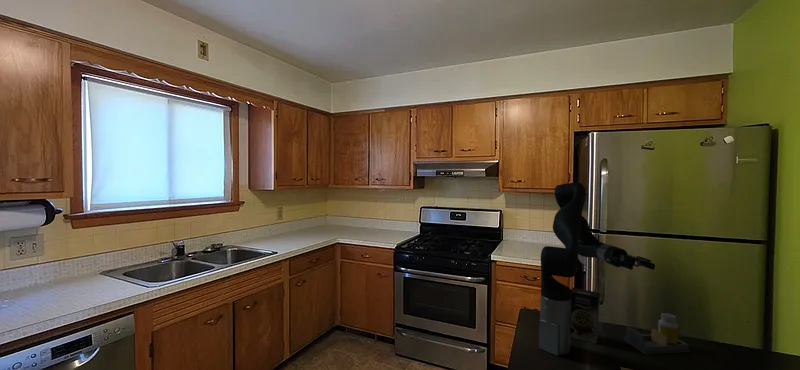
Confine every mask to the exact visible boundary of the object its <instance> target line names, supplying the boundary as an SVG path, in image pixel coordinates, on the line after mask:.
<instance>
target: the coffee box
mask: <svg viewBox="0 0 800 370" xmlns="http://www.w3.org/2000/svg"><path fill="white" fill-rule="evenodd" d="M570 289H571V291H572V304H571V335H570V339H571V338H572V339H576V340H580V341H582V342H587V343H590V344H597V342H598V338H599V316H600V315H599V314H600V300H601V299H600V298H601V293H600V291H599V292H597V291H592V290H587V289H583V288H579V287H577V288H576V287H571V288H570Z"/></svg>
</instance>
